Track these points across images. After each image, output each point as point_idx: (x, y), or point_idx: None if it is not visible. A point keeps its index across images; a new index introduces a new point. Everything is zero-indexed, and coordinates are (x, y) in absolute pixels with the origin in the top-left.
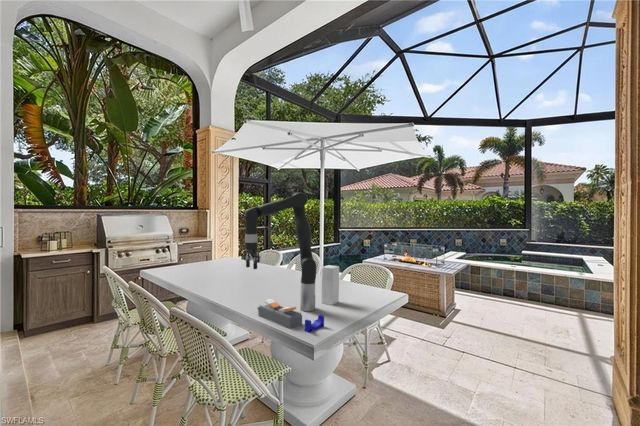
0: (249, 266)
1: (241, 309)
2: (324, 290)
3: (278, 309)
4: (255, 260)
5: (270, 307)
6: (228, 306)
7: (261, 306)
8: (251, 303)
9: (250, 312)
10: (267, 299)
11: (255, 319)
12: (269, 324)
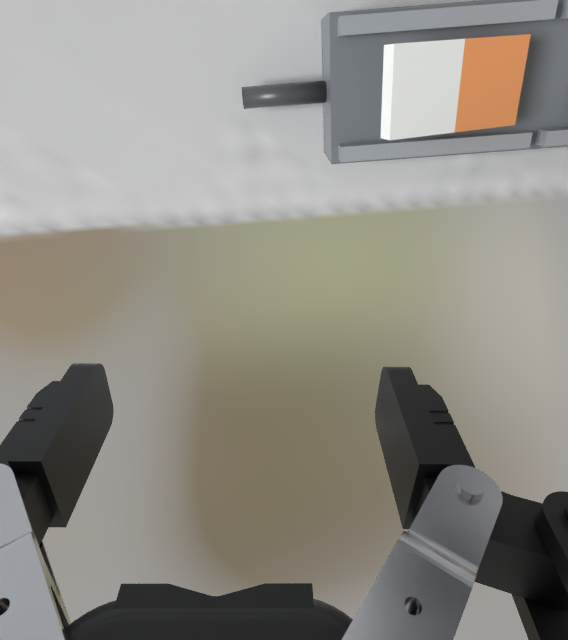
0: (98, 372)
1: (125, 177)
2: None
3: None
4: (557, 619)
5: None
6: (6, 218)
7: (368, 159)
8: (3, 13)
9: (227, 160)
10: (392, 100)
11: (370, 208)
12: (506, 187)
